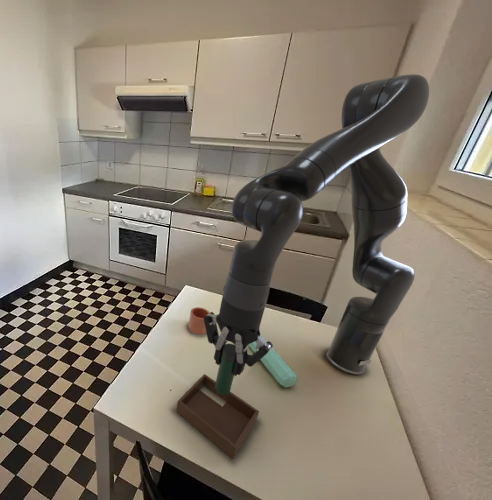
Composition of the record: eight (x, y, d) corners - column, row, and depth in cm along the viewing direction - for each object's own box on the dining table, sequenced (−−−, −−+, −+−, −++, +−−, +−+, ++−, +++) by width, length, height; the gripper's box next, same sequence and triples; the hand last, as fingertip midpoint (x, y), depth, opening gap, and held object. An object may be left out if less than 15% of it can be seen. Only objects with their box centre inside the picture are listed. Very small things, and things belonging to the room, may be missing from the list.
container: (301, 371, 69) (245, 310, 91) (280, 381, 69) (228, 318, 91) (302, 385, 72) (247, 323, 94) (282, 395, 72) (231, 330, 94)
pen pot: (195, 320, 96) (197, 305, 93) (210, 329, 92) (213, 313, 89) (184, 328, 91) (186, 312, 89) (200, 338, 88) (203, 321, 85)
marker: (219, 379, 62) (228, 341, 58) (232, 388, 60) (243, 349, 56) (211, 388, 60) (220, 348, 56) (225, 398, 58) (235, 358, 54)
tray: (202, 383, 72) (204, 373, 70) (255, 421, 63) (259, 411, 62) (176, 411, 64) (177, 401, 63) (232, 459, 56) (236, 448, 54)
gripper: (291, 306, 49) (268, 377, 56) (220, 276, 58) (207, 341, 65) (276, 324, 44) (252, 400, 51) (200, 288, 53) (188, 358, 60)
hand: (227, 367), depth 58 cm, fingers closed on marker, 3 cm apart
